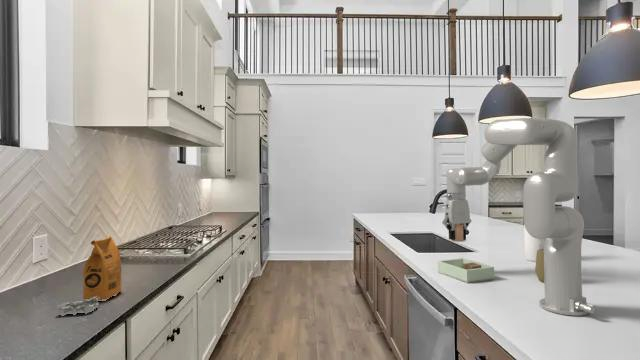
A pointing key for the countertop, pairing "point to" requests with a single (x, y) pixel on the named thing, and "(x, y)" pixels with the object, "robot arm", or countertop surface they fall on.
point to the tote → (468, 276)
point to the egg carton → (76, 305)
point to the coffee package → (102, 270)
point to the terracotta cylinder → (458, 233)
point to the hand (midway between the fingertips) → (457, 238)
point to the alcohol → (531, 246)
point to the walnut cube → (471, 266)
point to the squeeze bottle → (540, 262)
